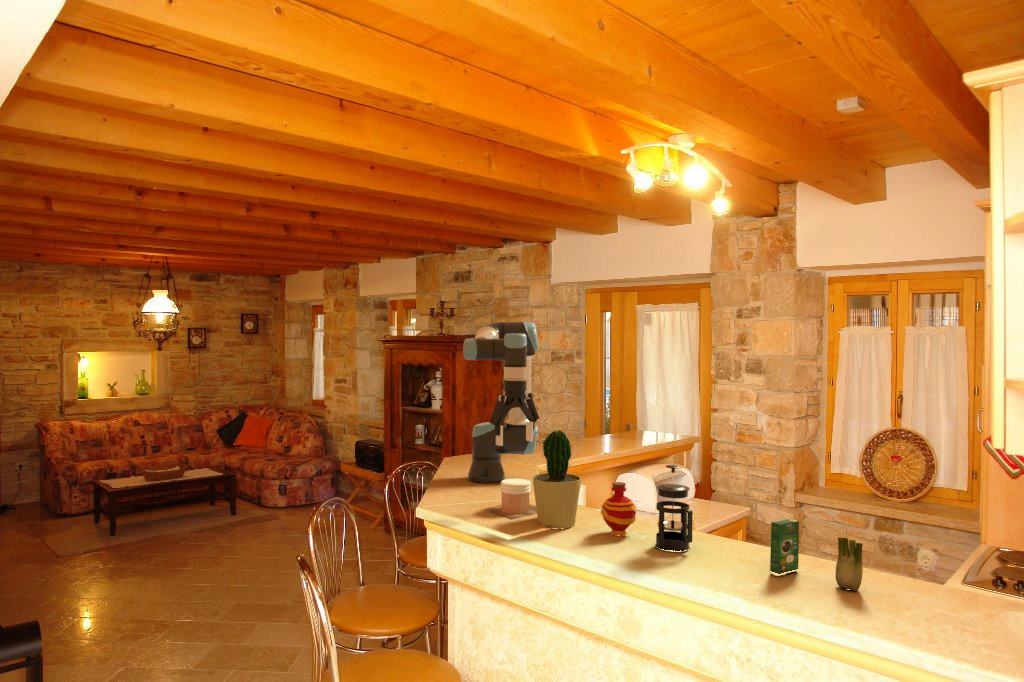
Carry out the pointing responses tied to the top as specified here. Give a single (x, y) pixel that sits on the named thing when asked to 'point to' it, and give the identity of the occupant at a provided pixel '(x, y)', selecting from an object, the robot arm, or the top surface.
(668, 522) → the french press
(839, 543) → the fennel bulb
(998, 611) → the top surface
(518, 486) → the cream flat cylinder
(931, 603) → the top surface
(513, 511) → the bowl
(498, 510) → the board
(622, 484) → the potion bottle
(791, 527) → the coffee box
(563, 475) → the potted cactus
